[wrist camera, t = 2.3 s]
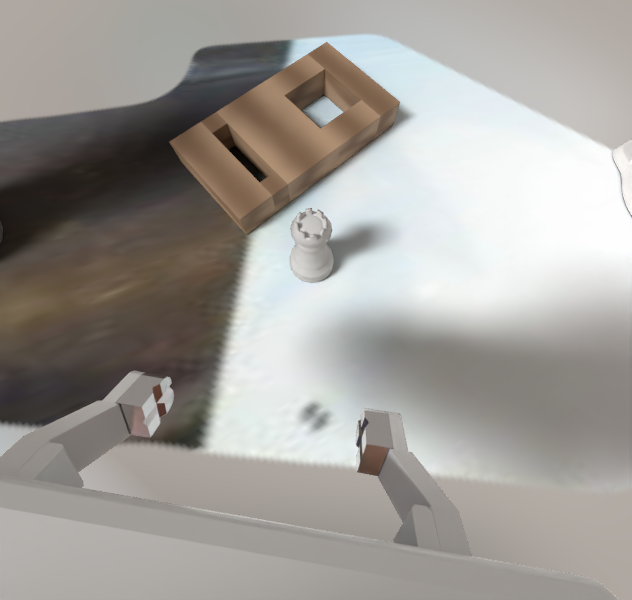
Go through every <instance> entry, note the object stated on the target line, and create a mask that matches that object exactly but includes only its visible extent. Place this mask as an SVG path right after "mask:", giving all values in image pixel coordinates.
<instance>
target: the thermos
mask: <svg viewBox="0 0 632 600" xmlns="http://www.w3.org/2000/svg"><path fill="white" fill-rule="evenodd" d="M2 236H3V227H2V224H1V221H0V244H1V241H2Z"/></svg>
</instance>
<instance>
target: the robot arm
mask: <svg viewBox="0 0 632 600" xmlns="http://www.w3.org/2000/svg"><path fill="white" fill-rule="evenodd" d="M613 158H614V161H615V163H616V165H617V167H618V169H619V171H620V173H621V178H622V192H623V197H624V200H625V203H626V206H627V208H628V210H629V212H630V214H631V215H632V139H630V140H629V141H627V142H625V143H624V144H622V145H620V146H619V147H617V148H616V149H614V150H613ZM170 385H171V379H170V377H166V376H160V375H155V374H150V373H144V372H138V371H132V372H130V373H128V374H127V376H126V377H125V378H124V379H123V380H122V381H121V382H120V383H119V384H118V385H117V386H116V387H115V388H114V389H113V390H112V391H111V392H110V393H109V394H108V395H107V396H106V397H105V398H104V400H103V401H96V402H94V403H92V404H90V405H88V406H86V407H84V408H82V409H80V410H78V411H75V412H73V413H71V414H69V415H67V416H65V417H63V418H61V419H59V420H57V421H54V422H52V423H50V424H48V425H46V426H44V427H42V428H40V429H38V430H36V431H34V432H31V433H29V434H27V435H25V436H23V437H22V438H21V439H20V440H19V441H18V442H16V443H15V444H14V445H13V446H12V447H11V448H10V449H9V450H8V451H6V452H5V453H4V454H3V455H2V456H1V457H0V600H619V599H618V598H617V597H616V596H615V595H614V594H613V593H612V592H610V590H608V589H607V588H606V587H605V586H604V585H603V584H601V583H600V582H598V581H596V580H594V579H592V578H588V577H585V576H581V575H575V574H570V573H563V572H558V571H552V570H547V569H541V568H535V567H529V566H523V565H518V564H512V563H506V562H501V561H495V560H489V559H484V558H478V557H473V556H472V555H471V551H470V548H469V545H468V541H467V538H466V535H465V531H464V528H463V525H462V521H461V518H460V515H459V511H458V510H457V509H456V507H455V506H454V505H453V503H451V501H450V500H449V499H448V497H447V496H446V495H445V494H444V492H443V491H442V490H441V488H440V487H439V486H438V485H437V483H436V482H435V481H434V480H433V478H432V477H431V476H430V475H429V473H428V472H427V471H426V469H425V468H424V467H423V466H422V464H421V463H420V462H419V461H418V459H417V458H416V457H415V456H414V454H413V453H412V452H408V448H407V443H406V438H405V433H404V428H403V423H402V418H401V415H400V414H398V413H392V412H386V411H380V410H373V409H367V408H363V409H362V411H361V420H359V421H358V425H357V431H356V445H357V447H358V448H359V449H358V452H357V455H356V459H357V472H359V473H364V474H369V475H374V476H379V477H378V478H379V480H380V482H381V483H382V485H383V487H384V489H385V491H386V493H387V495H388V496H389V498H390V500H391V502H392V504H393V505H394V507H395V509H396V511H397V513H398V515H399V517H400V518H401V520H402V522H403V524H402V526H401V527H400V529H399V531H398V533H397V534H396V536H395V538H394V540H393V541H394V543H392V542H387V541H381V540H375V539H369V538H364V537H358V536H352V535H346V534H341V533H335V532H330V531H324V530H318V529H312V528H307V527H301V526H296V525H289V524H284V523H278V522H272V521H267V520H261V519H256V518H250V517H244V516H239V515H233V514H227V513H222V512H216V511H210V510H204V509H199V508H193V507H187V506H182V505H176V504H170V503H165V502H159V501H153V500H147V499H141V498H136V497H130V496H124V495H119V494H113V493H107V492H102V491H96V490H90V489H84V488H82V487H83V480H82V479H81V477H80V475H79V473H78V472H79V471H81V470H82V469H83V468H85V467H86V466H88V465H89V464H91V463H92V462H93V461H95V460H96V459H98V458H99V457H100V456H102V455H103V454H105V453H106V452H108V451H109V450H110V449H112V448H113V447H114V446H116V445H117V444H119V443H120V442H122V441H123V440H124V439H126V438H127V437H129V436H130V435H137V436H144V437H151V436H152V435H153V433H154V432H155V430H156V429H157V427H158V426H159V424H160V417H162V416H163V415H165V414H167V412H168V411H169V409H170V408H171V405H172V403H173V398H174V393H173V390H172V389H171V388H170V387H169V386H170ZM129 434H130V435H129Z"/></svg>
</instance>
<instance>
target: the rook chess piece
mask: <svg viewBox="0 0 632 600" xmlns="http://www.w3.org/2000/svg"><path fill="white" fill-rule="evenodd" d="M290 229H291V235H292V237H293V239H294V240H295V244H296V245H295V246H294V248H293V249H292V251H291V255H290V267H291V270H292V272H293V273H294V275H295V276H296V277H297V278H299V279H300V280H302V281H305V282H309V283H313V282H320V281H321V280H323V279H325V278H327V276H328V275H329V274H330V273H331V271H332V268H333V264H334V262H333V260H334V259H333V253H332V250H331V249H330V247H329V246H328V244H327V242H328V240H329V238H330V237H331V233H332V227H331V223H330V221H329V220H328V218H327V217H326V216H324V215H323V212H321V211H320V210H318V211H317V212H315V211H312V208H309V209H306V212H303V213H301V212H300V213H299V214H298V215H297V216H296V218H295V219H294V220H293V222H292V225H291V228H290Z"/></svg>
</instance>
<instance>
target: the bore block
mask: <svg viewBox="0 0 632 600" xmlns="http://www.w3.org/2000/svg"><path fill="white" fill-rule="evenodd" d="M322 95H325V96H326V97H327V98H328V99H330V100H331V101H332V102H333V103H334V104H335V105H336V106H338V107H339V108H340V109H341V110H342V111H343V112H344V113H342V114H341V115H339V116H338V117H336V118H335V119H334V120H332V121H331V122H329V123H328V124H326V125H325V126H324V127H322V128H321V129H320V128H319V127H318V126H317V125H316V124H315V123H314V122H313V121H312V120H310V119H309V118H308V117H307V116H306V115H305V114H304V113H303V112H302V111H301V110H302V109H303V108H305V107H306V106H308V105H309V104H311V103H312V102H313V101H315V100H316V99H318V98H319V97H321V96H322ZM399 104H400V102H399V101H398V100H397V99H396V98H394V97H393V96H392V95H391V94H389V93H388V92H387V91H386V90H385V89H383V88H382V87H381V86H380V85H379V84H377V83H376V82H375V81H374V80H372V79H371V78H370V77H369V76H368V75H366V74H365V73H364V72H363V71H361V70H360V69H359V68H358V67H357V66H355V65H354V64H353V63H352V62H351V61H349V60H348V59H347V58H346V57H344V56H343V55H342V54H341V53H340V52H338V51H337V50H336V49H335V48H333V47H332V46H331V45H330V44H329V43H327V42H326V43H324V44H323V45H321V46H320V47H318V48H317V49H315V50H313V51H312V52H310V53H309V54H307V55H306V56H304V57H302V58H301V59H299V60H298V61H296V62H294V63H293V64H291V65H290V66H288V67H287V68H285V69H283V70H282V71H280V72H279V73H277V74H275V75H274V76H272V77H271V78H269V79H268V80H266V81H264V82H263V83H261V84H260V85H258V86H257V87H255V88H253V89H252V90H250V91H249V92H247V93H245V94H244V95H242V96H241V97H239V98H238V99H236V100H234V101H233V102H231V103H230V104H228V105H226V106H225V107H223V108H222V109H220V110H219V111H217V112H215V113H214V114H212V115H211V116H209V117H208V118H206V119H204V120H203V121H201V122H200V123H198V124H196V125H195V126H193V127H192V128H190V129H189V130H187V131H185V132H184V133H182V134H181V135H179V136H177V137H176V138H174V139H173V140H171V141H170V142H169V143H170V144H171V146H172V147H173V149H174V151H175V152H176V154H177V156H178V157H179V159H180V160H181V162H182V163H183V165H184V166H185V167H186V168H187V169H188V170H189V171H190V172H191V173H192V175H193V176H194V177H195V178H196V179H197V180H198V181H199V182H200V183H201V185H202V186H203V187H204V188H205V189H206V190H207V191H208V192H209V193H210V195H211V196H212V197H213V198H214V199H215V200H216V201H217V202H218V203H219V205H220V206H221V207H222V208H223V209H224V210H225V211H226V212H227V213H228V214H229V216H230V217H231V218H232V219H233V220H234V221H235V222H236V223H237V224H238V226H239V227H240V228H241V229H242V230H243V231H244V232H245V233H246V234H249V233H250V232H251V231H253V230H254V229H255V228H257V227H258V226H259V225H261V224H262V223H263V222H265V221H266V220H267V219H269V218H270V217H271V216H273V215H274V214H275V213H277V212H278V211H279V210H281V209H282V208H283V207H285V206H286V205H287V204H289V203H290V202H291V201H293V200H294V199H295V198H297V197H298V196H299V195H301V194H302V193H303V192H305V191H306V190H307V189H309V188H310V187H311V186H313V185H314V184H315V183H317V182H318V181H319V180H321V179H322V178H323V177H325V176H326V175H327V174H329V173H330V172H331V171H333V170H334V169H335V168H337V167H338V166H339V165H341V164H342V163H343V162H345V161H346V160H347V159H349V158H350V157H351V156H353V155H354V154H355V153H357V152H358V151H359V150H361V149H362V148H364V147H365V146H366V145H368V144H369V143H370V142H372V141H373V140H374V139H376V138H377V137H378V136H380V135H381V134H382V133H384V132H385V131H386V130H388V129H389V128H390V127H392V126H393V123H394V120H395V116H396V113H397V110H398V107H399ZM234 146H236V147H237V148H238V149H239V150H240V151H241V152H242V153H243V154H244V155H245V156H246V157H247V158H248V159H249V161H250V162H251V163H252V164H253V165H254V166H255V167H256V168H257V169H258V170H259V171H260V172H261V173H262V174H263V175H264V176H265V177H266V178H265V179H264V180H262V181H261V182H259V181H258V180H257V179H256V178H255V177H254V176H253V175H252V174H251V173H250V172H249V171H248V170H247V169H246V168H245V167H244V166H243V165H242V164H241V163H240V162H239V161H238V160H237V159H236V158H235V157H234V155H233V154H232V153H231V152H230V151H229V149H231V148H232V147H234Z"/></svg>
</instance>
